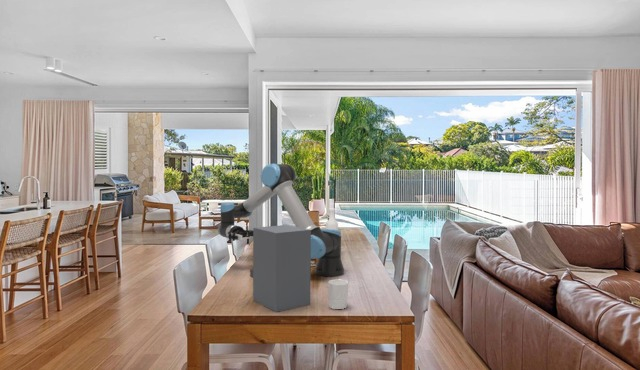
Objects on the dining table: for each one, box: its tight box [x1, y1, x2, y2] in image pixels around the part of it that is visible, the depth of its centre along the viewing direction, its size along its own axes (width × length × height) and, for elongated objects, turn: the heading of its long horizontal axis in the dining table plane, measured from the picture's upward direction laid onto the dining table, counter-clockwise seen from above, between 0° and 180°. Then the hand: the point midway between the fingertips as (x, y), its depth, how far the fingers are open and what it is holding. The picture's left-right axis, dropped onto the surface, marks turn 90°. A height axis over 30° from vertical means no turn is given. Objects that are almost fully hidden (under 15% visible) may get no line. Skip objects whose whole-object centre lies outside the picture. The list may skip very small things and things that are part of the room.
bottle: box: [325, 207, 339, 230], centre depth 267 cm, size 8×8×30 cm
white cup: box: [327, 279, 349, 310], centre depth 167 cm, size 8×8×10 cm
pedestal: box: [252, 224, 312, 313], centre depth 172 cm, size 18×16×30 cm
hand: (254, 236), depth 213 cm, fingers open, 13 cm apart
